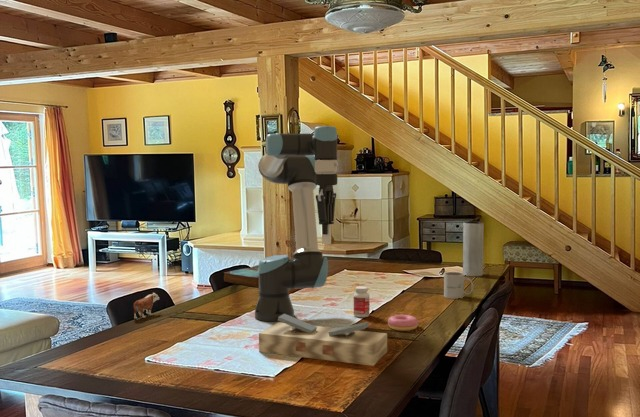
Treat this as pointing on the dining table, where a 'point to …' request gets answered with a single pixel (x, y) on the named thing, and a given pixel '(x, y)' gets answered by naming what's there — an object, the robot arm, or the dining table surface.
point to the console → (324, 344)
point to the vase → (473, 248)
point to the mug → (455, 285)
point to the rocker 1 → (297, 323)
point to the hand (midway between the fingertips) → (326, 243)
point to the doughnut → (402, 322)
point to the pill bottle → (361, 302)
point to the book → (243, 277)
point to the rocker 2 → (348, 329)
